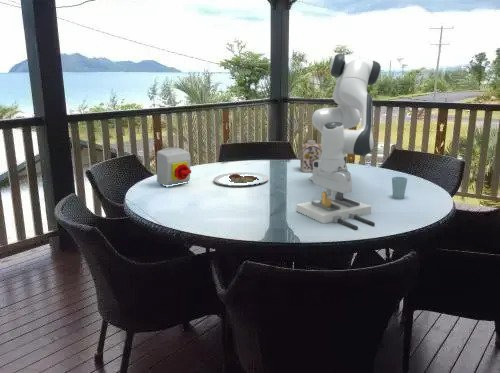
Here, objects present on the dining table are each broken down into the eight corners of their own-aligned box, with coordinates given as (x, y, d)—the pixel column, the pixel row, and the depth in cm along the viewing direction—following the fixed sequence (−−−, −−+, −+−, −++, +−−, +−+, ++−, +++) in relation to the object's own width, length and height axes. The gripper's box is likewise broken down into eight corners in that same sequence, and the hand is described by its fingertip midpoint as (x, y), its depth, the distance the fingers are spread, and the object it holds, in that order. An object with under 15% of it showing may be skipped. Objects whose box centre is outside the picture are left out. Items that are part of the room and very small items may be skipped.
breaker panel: (296, 211, 174) (296, 201, 173) (341, 202, 185) (342, 193, 184) (323, 223, 159) (323, 212, 158) (370, 213, 169) (371, 203, 168)
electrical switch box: (171, 193, 215) (171, 156, 208) (156, 184, 225) (156, 149, 218) (195, 188, 224) (196, 152, 217) (180, 180, 234) (180, 145, 227)
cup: (400, 194, 195) (401, 176, 193) (409, 198, 189) (410, 179, 187) (387, 196, 193) (389, 177, 191) (396, 200, 187) (397, 180, 185)
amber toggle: (321, 206, 169) (321, 192, 167) (327, 205, 170) (328, 191, 169) (324, 207, 167) (324, 193, 166) (331, 206, 169) (331, 192, 167)
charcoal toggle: (334, 200, 177) (334, 186, 176) (340, 199, 179) (340, 185, 177) (337, 201, 176) (337, 187, 174) (343, 200, 177) (343, 186, 176)
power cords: (332, 221, 161) (333, 216, 160) (353, 216, 166) (353, 211, 165) (354, 230, 150) (355, 225, 150) (376, 225, 155) (376, 220, 154)
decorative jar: (322, 172, 246) (322, 141, 242) (302, 172, 246) (302, 142, 242) (319, 168, 258) (319, 139, 253) (300, 168, 258) (300, 139, 254)
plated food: (249, 191, 209) (249, 184, 208) (202, 184, 224) (202, 178, 224) (278, 178, 233) (278, 172, 233) (233, 173, 249) (233, 168, 248)
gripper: (356, 168, 155) (355, 204, 158) (322, 160, 172) (321, 192, 176) (343, 170, 152) (342, 207, 155) (310, 161, 169) (309, 194, 173)
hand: (331, 199), depth 166 cm, fingers closed
